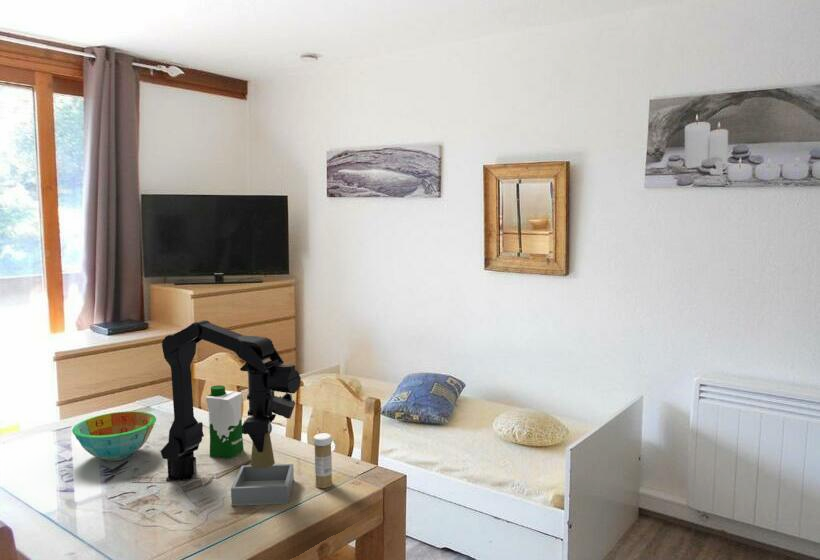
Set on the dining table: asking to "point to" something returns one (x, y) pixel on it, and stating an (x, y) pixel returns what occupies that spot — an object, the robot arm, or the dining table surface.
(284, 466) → the box
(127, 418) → the bowl
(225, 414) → the milk carton
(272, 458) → the cork
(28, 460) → the dining table surface
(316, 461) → the sprinkles bottle
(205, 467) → the dining table surface
